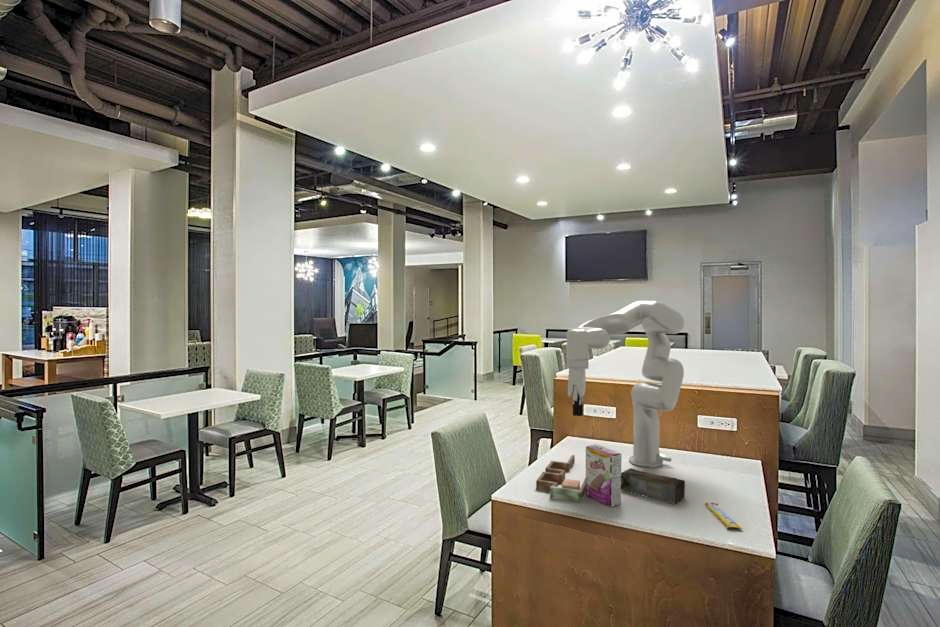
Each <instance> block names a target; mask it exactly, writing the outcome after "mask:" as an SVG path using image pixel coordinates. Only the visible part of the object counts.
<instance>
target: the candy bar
mask: <svg viewBox="0 0 940 627" xmlns="http://www.w3.org/2000/svg"><path fill="white" fill-rule="evenodd" d="M704 505H705V507H706V508H707V510H709V511H710V512H711V514H712V515H714V517H715V518H716V517H717V518H716V519H717V520H719V522H720V523H721V524H722V525H723V526H725V528H726V529H731V528H732V529H740V530H741V529H742V530H743V529H744V527H743V528H742V527H741V526H740V524H738V523H737V522H736V521H735V520H734V519H733V518H732V517H731V516H729V514H728V513H726V512H725V511H724V510H723V509H722V508H721V507H720V506H719V503H716V502H711V503H709V502H705V503H704Z"/></svg>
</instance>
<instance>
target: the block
mask: <svg viewBox="0 0 940 627" xmlns="http://www.w3.org/2000/svg"><path fill="white" fill-rule="evenodd" d="M580 484H581V481H580V480H578V479H577V480H576V479H571V478H570V479H568V478H565V479H564V481H563V483H562V484H561V488H568V489H575V490H580V488H581V486H580Z"/></svg>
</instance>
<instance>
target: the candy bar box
mask: <svg viewBox="0 0 940 627" xmlns="http://www.w3.org/2000/svg"><path fill="white" fill-rule="evenodd" d="M621 473H622V453H621V452H619V451H615V450H613V449H609V448H607V447H605V446H602V445H598V444H591V445H587V446H585V478H586V493H585V496H586V495H587V497H589V498H591V499H593V500H595V499H596V500H595V501H597V500H598V501H597V502H599V501H600V503H602V502H603V503H602V504H604V503H605V504H604V505H606V504H607V505H606V506H608V505H609V506H608V507H610V506H613V505H616V506H618V505H617V504H619V505H621V504H622V490H621ZM620 503H621V504H620ZM613 507H614V506H613Z"/></svg>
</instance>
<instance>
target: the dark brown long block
mask: <svg viewBox="0 0 940 627" xmlns="http://www.w3.org/2000/svg"><path fill="white" fill-rule="evenodd" d="M623 490H624V491H625V492H627V491H628V492H627V493H631V492H632V494H634V493H636V494H635V495H638V494H639V495H638V496H641V495H644V496H643V497H645V496H647V497H646V498H649V497H650V499H653V498H654V500H658V501H662V502H666V503H668V504H672V505H677V504H678V503H680V502H681V501H683V500H685V496H686V482H685V480H684V479H680V478H679V479H678V478H676V477H670V476H665V475H662V474H661V475H660V474H657V473H652V472H648V471H643V470H639V469H635V468H628V469H626V470H624V471H621V491H623ZM624 491H623V492H624Z"/></svg>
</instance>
